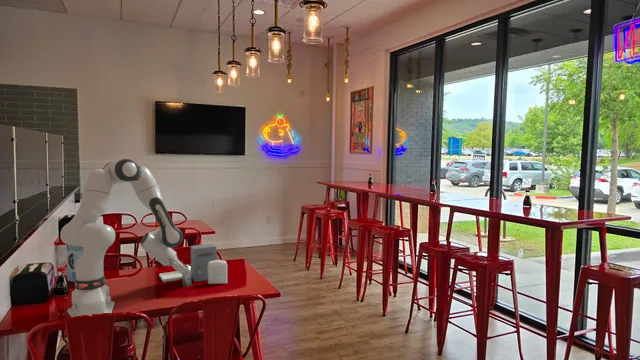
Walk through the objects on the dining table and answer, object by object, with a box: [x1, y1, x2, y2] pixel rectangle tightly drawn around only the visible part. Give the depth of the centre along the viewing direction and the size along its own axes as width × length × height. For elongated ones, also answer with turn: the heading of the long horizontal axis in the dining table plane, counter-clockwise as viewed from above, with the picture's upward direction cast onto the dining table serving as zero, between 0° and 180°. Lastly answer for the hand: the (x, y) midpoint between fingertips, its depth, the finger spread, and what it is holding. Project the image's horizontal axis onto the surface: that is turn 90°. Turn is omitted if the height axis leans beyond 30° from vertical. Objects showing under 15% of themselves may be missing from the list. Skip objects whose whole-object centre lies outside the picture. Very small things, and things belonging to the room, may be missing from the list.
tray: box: [158, 270, 182, 283], centre depth 241 cm, size 12×14×2 cm
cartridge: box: [181, 264, 192, 287], centre depth 227 cm, size 5×5×11 cm
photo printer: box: [207, 259, 228, 285], centre depth 230 cm, size 10×4×12 cm, turn 98°
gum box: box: [65, 244, 84, 283], centre depth 233 cm, size 20×5×23 cm, turn 66°
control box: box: [190, 243, 218, 283], centre depth 239 cm, size 9×12×18 cm
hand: (187, 272), depth 228 cm, fingers open, 5 cm apart
